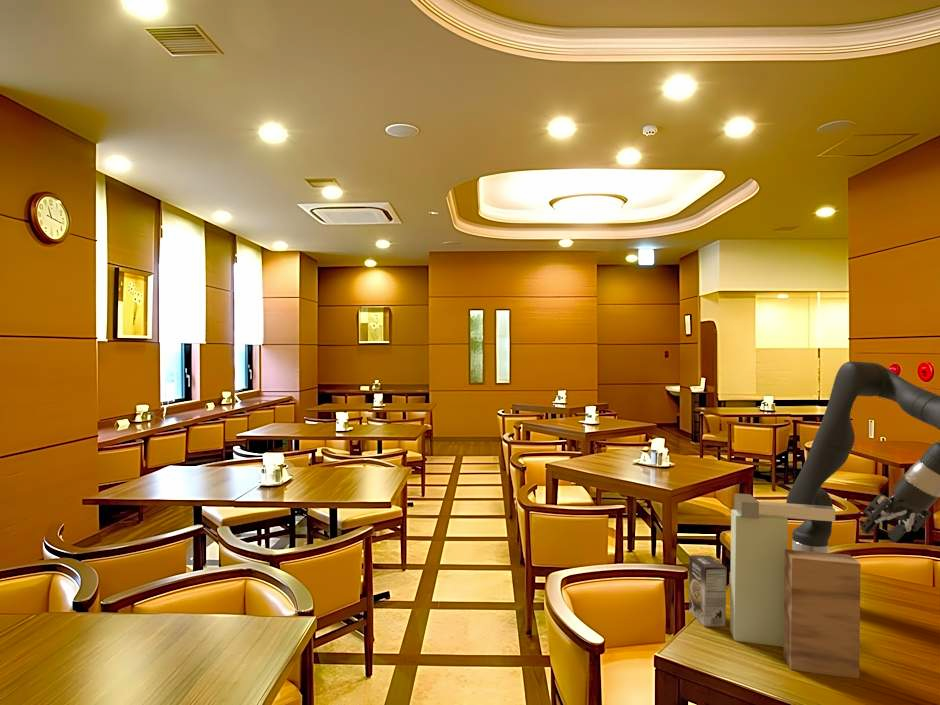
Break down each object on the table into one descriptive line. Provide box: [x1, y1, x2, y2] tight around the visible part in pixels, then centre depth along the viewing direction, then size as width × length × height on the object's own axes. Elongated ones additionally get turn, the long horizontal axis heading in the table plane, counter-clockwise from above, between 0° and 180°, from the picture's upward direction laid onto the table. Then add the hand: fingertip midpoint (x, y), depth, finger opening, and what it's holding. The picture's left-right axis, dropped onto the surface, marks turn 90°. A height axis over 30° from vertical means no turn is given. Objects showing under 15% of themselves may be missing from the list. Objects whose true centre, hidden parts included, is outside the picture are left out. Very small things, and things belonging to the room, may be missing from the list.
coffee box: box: [688, 554, 728, 627], centre depth 157 cm, size 9×6×16 cm
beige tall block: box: [729, 508, 789, 648], centre depth 147 cm, size 6×12×32 cm, turn 76°
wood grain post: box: [782, 549, 862, 680], centre depth 133 cm, size 6×14×26 cm, turn 76°
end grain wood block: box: [733, 492, 836, 522], centre depth 145 cm, size 9×22×4 cm, turn 76°
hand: (877, 535), depth 137 cm, fingers open, 8 cm apart
